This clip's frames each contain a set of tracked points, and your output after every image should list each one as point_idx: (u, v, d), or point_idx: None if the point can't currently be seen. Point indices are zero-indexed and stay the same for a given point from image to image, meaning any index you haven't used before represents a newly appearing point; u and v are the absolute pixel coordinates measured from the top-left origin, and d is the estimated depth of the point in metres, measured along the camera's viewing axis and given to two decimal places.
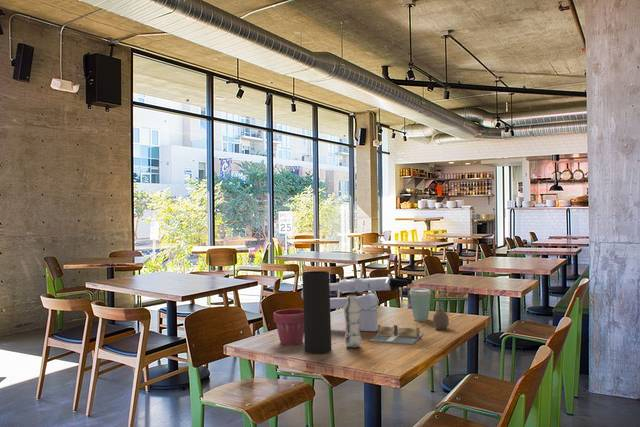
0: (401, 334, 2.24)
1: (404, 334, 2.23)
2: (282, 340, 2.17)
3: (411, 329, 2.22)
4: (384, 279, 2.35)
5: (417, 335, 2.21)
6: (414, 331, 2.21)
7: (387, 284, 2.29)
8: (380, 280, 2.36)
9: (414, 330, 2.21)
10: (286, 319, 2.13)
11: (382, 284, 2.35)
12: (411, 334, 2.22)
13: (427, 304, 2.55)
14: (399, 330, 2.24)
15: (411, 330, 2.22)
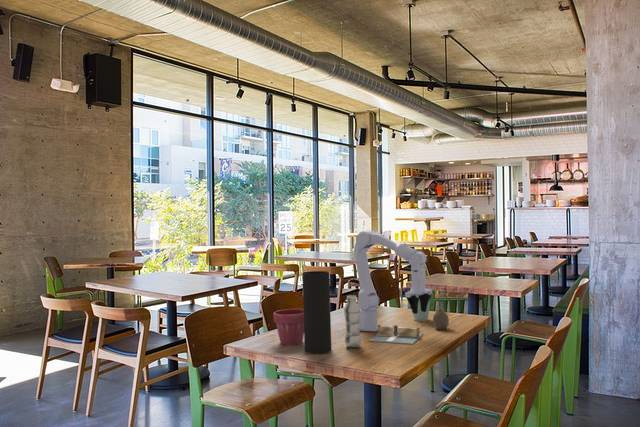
0: (401, 334, 2.24)
1: (404, 334, 2.23)
2: (282, 340, 2.17)
3: (411, 329, 2.22)
4: (419, 288, 2.24)
5: (417, 335, 2.21)
6: (414, 331, 2.21)
7: (407, 296, 2.23)
8: (417, 284, 2.25)
9: (414, 330, 2.21)
10: (286, 319, 2.13)
11: (413, 286, 2.26)
12: (411, 334, 2.22)
13: None
14: (399, 330, 2.24)
15: (411, 330, 2.22)
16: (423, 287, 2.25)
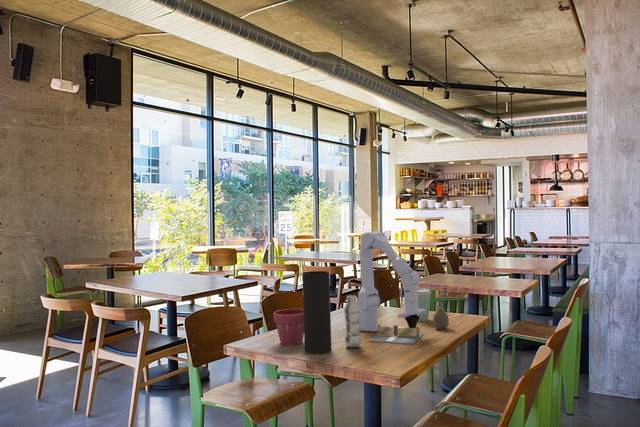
0: (401, 334, 2.24)
1: (404, 334, 2.23)
2: (282, 340, 2.17)
3: (411, 329, 2.22)
4: (412, 308, 2.22)
5: (417, 335, 2.21)
6: (414, 331, 2.21)
7: (400, 316, 2.20)
8: (410, 304, 2.22)
9: (414, 330, 2.21)
10: (286, 319, 2.13)
11: (406, 306, 2.23)
12: (411, 334, 2.22)
13: (427, 304, 2.55)
14: (399, 330, 2.24)
15: (411, 330, 2.22)
16: (416, 307, 2.22)
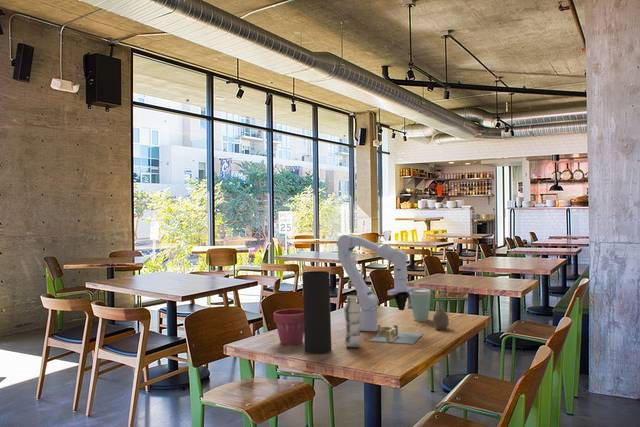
0: None
1: None
2: (282, 340, 2.17)
3: None
4: (401, 286, 2.32)
5: None
6: None
7: (389, 293, 2.30)
8: (400, 282, 2.32)
9: None
10: (286, 319, 2.13)
11: (396, 284, 2.33)
12: None
13: (427, 304, 2.55)
14: None
15: None
16: (405, 285, 2.32)
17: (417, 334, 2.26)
